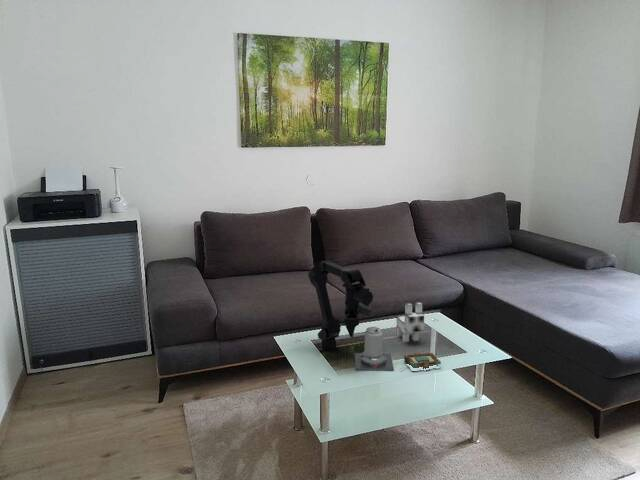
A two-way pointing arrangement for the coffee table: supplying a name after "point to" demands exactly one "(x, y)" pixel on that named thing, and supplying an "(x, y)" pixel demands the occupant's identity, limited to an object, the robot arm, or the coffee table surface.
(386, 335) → the coffee table surface
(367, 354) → the can
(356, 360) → the square metal dish
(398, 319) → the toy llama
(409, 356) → the decorative book
